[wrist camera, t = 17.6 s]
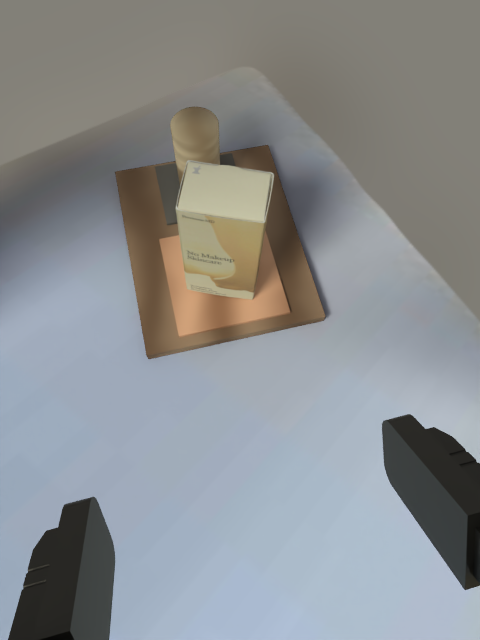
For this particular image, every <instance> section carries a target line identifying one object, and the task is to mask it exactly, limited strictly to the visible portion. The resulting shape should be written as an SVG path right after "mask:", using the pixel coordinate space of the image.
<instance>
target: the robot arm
mask: <svg viewBox="0 0 480 640" xmlns="http://www.w3.org/2000/svg"><path fill="white" fill-rule="evenodd" d="M382 434H383V452H384V466H385V470H386V474H387V476H388V479H389V481H390V483H391V485H392V487H393V488H394V489H395V491H396V492H397V494H398V495H399V497H400V498H401V499H402V501H403V502H404V504H405V505H406V507H407V508H408V509H409V511H410V512H411V514H412V515H413V517H414V518H415V519H416V521H417V522H418V524H419V525H420V527H421V528H422V529H423V531H424V532H425V534H426V535H427V537H428V538H429V539H430V541H431V542H432V544H433V545H434V547H435V548H436V549H437V551H438V552H439V554H440V555H441V557H442V558H443V559H444V561H445V562H446V564H447V565H448V567H449V568H450V569H451V571H452V572H453V574H454V575H455V577H456V578H457V579H458V581H459V582H460V584H461V585H462V587H463V588H464V589H465V590H467V589H470V588H473V587H477V586H480V463H477V462H476V459H475V458H474V457H473V456H472V455H471V454H470V453H468V452H466V451H465V449H464V448H463V447H462V446H461V445H460V444H459V443H458V442H457V441H456V440H455V439H454V438H453V437H452V436H450V435H448V434H446V433H444V432H442V431H440V430H438V429H436V428H435V427H433V428H429V429H425V428H424V427H423V426H422V425H421V424H420V423H419V422H418V421H417V420H416V419H415V418H414V417H413V416H412V415H410V414H408V415H404V416H400V417H396V418H393V419H389V420H385V421H383V423H382ZM114 570H115V552H114V545H113V541H112V538H111V535H110V532H109V530H108V527H107V525H106V522H105V519H104V517H103V514H102V512H101V509H100V507H99V504H98V502H97V500H96V498H95V497H91V498H87V499H83V500H80V501H76V502H72V503H68V504H65V505H64V507H63V509H62V513H61V518H60V522H59V527H58V528H55V529H51V530H47V531H46V532H45V533H44V535H43V536H42V538H41V539H40V541H39V542H38V544H37V545H36V546H35V548H34V549H33V552H32V556H31V559H30V563H29V567H28V573H27V574H26V577H25V581H24V584H23V587H24V589H23V590H22V592H21V595H20V599H19V602H18V606H17V610H16V613H15V617H14V620H13V624H12V628H11V631H10V635H9V638H8V640H109V635H110V622H111V609H112V596H113V583H114Z"/></svg>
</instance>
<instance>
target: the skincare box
mask: <svg viewBox="0 0 480 640" xmlns="http://www.w3.org/2000/svg"><path fill="white" fill-rule="evenodd" d="M273 181H274V174H273V173H271V172H265V171H258V170H252V169H245V168H239V167H235V166H229V165H218V164H211V163H204V162H198V161H192V160H188V161H187V163H186V167H185V170H184V174H183V177H182V181H181V185H180V189H179V194H178V198H177V204H176V215H177V223H178V230H179V237H180V244H181V251H182V258H183V265H184V272H185V279H186V286H187V289H188V290H192V291H197V292H202V293H208V294H214V295H220V296H227V297H234V298H242V299H250V300H252V299H253V298H254V293H255V288H256V282H257V277H258V271H259V265H260V259H261V253H262V247H263V241H264V235H265V229H266V223H267V217H268V211H269V205H270V199H271V194H272V188H273Z"/></svg>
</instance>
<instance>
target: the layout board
mask: <svg viewBox="0 0 480 640" xmlns="http://www.w3.org/2000/svg"><path fill="white" fill-rule="evenodd" d="M170 127H171V134H172V140H173V146H174V152H175V159H176V161H173V162H168V163H162V164H156V165H151V166H145V167H139V168H134V169H128V170H122V171H117V172H115V174H116V180H117V186H118V192H119V197H120V203H121V209H122V215H123V221H124V227H125V232H126V238H127V244H128V250H129V256H130V261H131V267H132V273H133V279H134V285H135V291H136V296H137V302H138V308H139V314H140V320H141V326H142V331H143V337H144V343H145V349H146V355H147V357H148V359H152V358H156V357H161V356H166V355H170V354H175V353H179V352H184V351H188V350H193V349H197V348H202V347H206V346H211V345H215V344H220V343H225V342H229V341H234V340H238V339H243V338H247V337H252V336H256V335H261V334H265V333H270V332H274V331H279V330H284V329H288V328H293V327H297V326H302V325H306V324H311V323H315V322H320V321H324V319H325V313H324V310H323V307H322V305H321V302H320V299H319V296H318V293H317V290H316V287H315V284H314V281H313V278H312V275H311V272H310V269H309V266H308V263H307V260H306V257H305V254H304V251H303V248H302V245H301V242H300V239H299V236H298V233H297V230H296V227H295V224H294V221H293V218H292V215H291V212H290V209H289V206H288V203H287V200H286V197H285V194H284V191H283V188H282V185H281V182H280V179H279V176H278V173H277V170H276V167H275V164H274V161H273V158H272V155H271V152H270V149H269V146H268V145H264V146H258V147H253V148H247V149H241V150H236V151H230V152H224V153H220V151H219V123H218V119H217V117H216V116H215V115H214V114H213V113H212V112H211V111H209V110H207V109H205V108H201V107H189V108H185V109H182V110H180V111H179V112H177V113H176V114H175V115H174V117H173V118H172V120H171V124H170ZM188 160H192V161H198V162H204V163H211V164H218V165H229V166H235V167H239V168H245V169H252V170H258V171H265V172H271V173H273V174H274V181H273V188H272V194H271V199H270V205H269V211H268V217H267V223H266V229H265V235H264V241H263V247H262V253H261V259H260V265H259V271H258V277H257V282H256V288H255V293H254V298H253V299H252V300H250V299H242V298H234V297H227V296H220V295H214V294H208V293H202V292H197V291H192V290H188V289H187V286H186V279H185V272H184V265H183V258H182V251H181V244H180V237H179V230H178V223H177V215H176V204H177V198H178V194H179V189H180V185H181V181H182V177H183V174H184V170H185V167H186V163H187V161H188Z"/></svg>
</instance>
